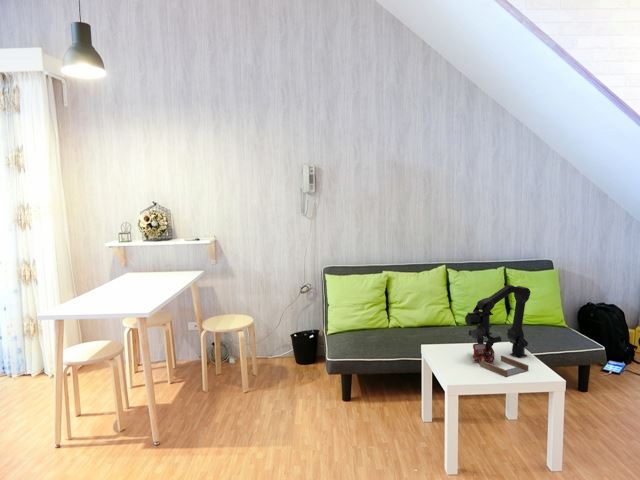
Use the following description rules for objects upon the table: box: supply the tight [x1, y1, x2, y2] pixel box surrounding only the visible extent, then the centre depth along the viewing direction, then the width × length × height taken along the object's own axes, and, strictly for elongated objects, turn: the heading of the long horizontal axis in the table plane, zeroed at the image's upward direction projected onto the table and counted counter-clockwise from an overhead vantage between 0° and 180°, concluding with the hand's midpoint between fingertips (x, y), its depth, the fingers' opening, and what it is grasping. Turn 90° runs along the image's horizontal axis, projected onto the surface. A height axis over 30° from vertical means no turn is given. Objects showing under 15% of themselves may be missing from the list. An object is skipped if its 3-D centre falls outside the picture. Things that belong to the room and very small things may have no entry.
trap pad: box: [506, 367, 527, 377], centre depth 232 cm, size 13×6×1 cm, turn 116°
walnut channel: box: [479, 355, 529, 378], centre depth 237 cm, size 16×17×3 cm
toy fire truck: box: [472, 342, 495, 364], centre depth 248 cm, size 7×12×10 cm, turn 102°
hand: (484, 350), depth 249 cm, fingers open, 5 cm apart
